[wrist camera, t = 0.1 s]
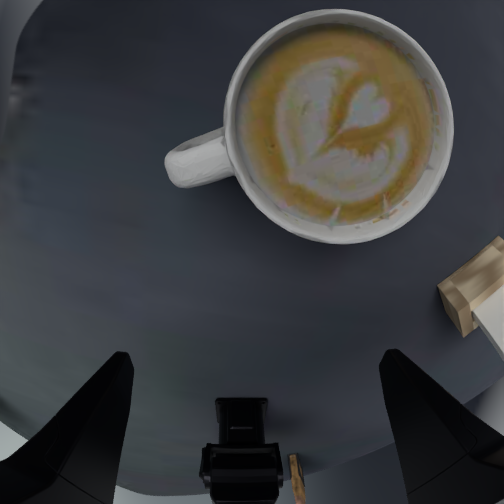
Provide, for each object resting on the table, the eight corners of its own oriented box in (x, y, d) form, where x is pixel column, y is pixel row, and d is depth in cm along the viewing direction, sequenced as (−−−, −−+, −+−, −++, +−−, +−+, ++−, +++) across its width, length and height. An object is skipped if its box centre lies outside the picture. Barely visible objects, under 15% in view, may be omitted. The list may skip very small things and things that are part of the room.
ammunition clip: (302, 467, 51) (308, 514, 41) (293, 468, 52) (299, 515, 41) (297, 452, 46) (304, 508, 36) (287, 454, 46) (293, 509, 36)
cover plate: (457, 296, 28) (507, 366, 18) (454, 288, 27) (508, 359, 17) (493, 267, 26) (548, 328, 16) (492, 257, 25) (550, 319, 16)
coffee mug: (363, 46, 16) (448, 27, 8) (370, 174, 21) (444, 233, 13) (170, 60, 17) (114, 37, 8) (193, 193, 22) (164, 268, 13)
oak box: (445, 311, 29) (463, 337, 25) (437, 285, 27) (457, 312, 23) (502, 266, 27) (523, 287, 23) (498, 235, 24) (522, 256, 21)
